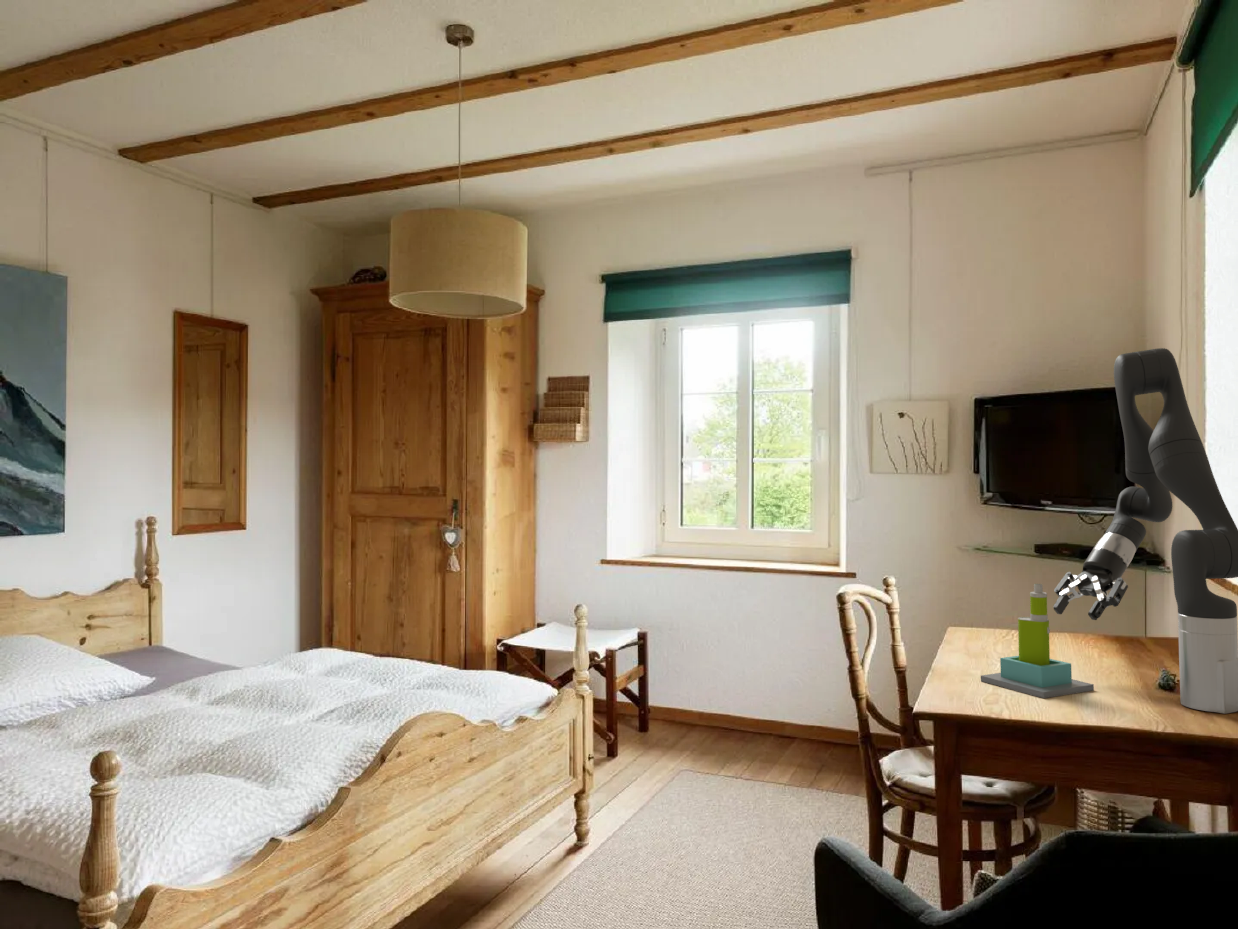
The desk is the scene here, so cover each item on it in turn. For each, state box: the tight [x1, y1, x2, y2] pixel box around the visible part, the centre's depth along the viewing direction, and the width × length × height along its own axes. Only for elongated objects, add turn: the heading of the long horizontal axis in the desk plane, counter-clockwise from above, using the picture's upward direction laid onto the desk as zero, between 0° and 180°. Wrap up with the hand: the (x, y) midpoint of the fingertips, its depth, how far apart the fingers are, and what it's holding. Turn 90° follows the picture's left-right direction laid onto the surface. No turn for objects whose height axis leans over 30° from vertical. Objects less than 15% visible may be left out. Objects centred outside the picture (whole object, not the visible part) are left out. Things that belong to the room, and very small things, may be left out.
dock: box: [980, 655, 1095, 699], centre depth 179 cm, size 16×14×5 cm
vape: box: [1017, 583, 1051, 666], centre depth 179 cm, size 4×6×20 cm, turn 52°
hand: (1074, 614), depth 183 cm, fingers open, 8 cm apart
